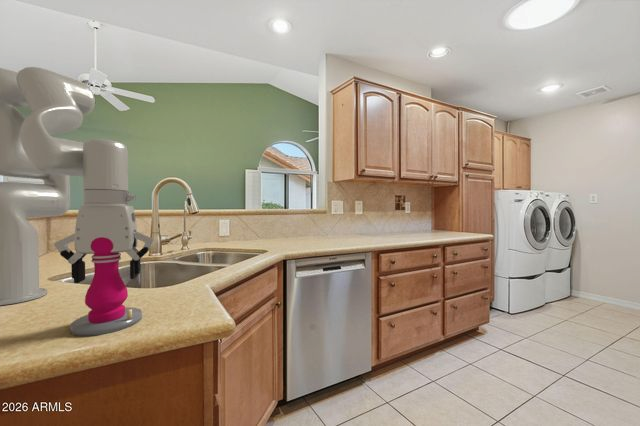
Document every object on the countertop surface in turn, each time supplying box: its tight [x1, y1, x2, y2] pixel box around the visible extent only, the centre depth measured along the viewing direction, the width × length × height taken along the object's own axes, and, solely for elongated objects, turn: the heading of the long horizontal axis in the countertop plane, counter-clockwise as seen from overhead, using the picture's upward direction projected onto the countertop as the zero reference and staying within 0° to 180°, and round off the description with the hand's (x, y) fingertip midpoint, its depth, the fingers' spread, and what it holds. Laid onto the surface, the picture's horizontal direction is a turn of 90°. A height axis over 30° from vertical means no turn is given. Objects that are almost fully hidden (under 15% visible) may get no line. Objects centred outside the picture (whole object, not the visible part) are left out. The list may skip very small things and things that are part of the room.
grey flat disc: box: [70, 306, 143, 337], centre depth 59 cm, size 12×12×3 cm
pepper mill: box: [84, 237, 129, 323], centre depth 59 cm, size 7×7×20 cm
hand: (107, 279), depth 59 cm, fingers open, 9 cm apart
